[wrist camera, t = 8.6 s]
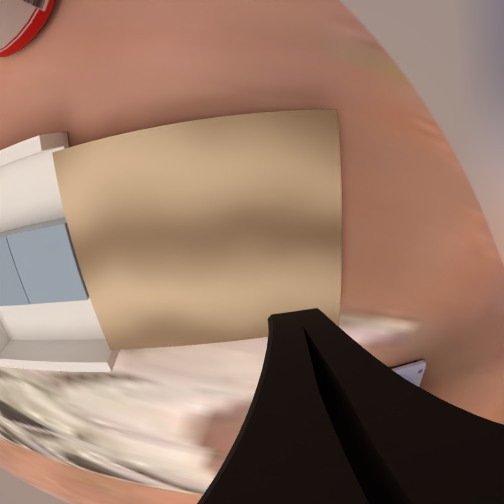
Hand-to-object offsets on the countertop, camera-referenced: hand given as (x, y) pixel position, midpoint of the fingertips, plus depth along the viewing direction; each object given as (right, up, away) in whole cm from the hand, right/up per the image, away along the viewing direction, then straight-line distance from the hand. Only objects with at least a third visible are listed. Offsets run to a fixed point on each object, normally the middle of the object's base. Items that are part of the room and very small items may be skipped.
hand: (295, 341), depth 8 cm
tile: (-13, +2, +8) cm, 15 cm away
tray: (-16, +2, +9) cm, 18 cm away
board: (-4, +3, +9) cm, 10 cm away
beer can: (-15, +17, +3) cm, 23 cm away
